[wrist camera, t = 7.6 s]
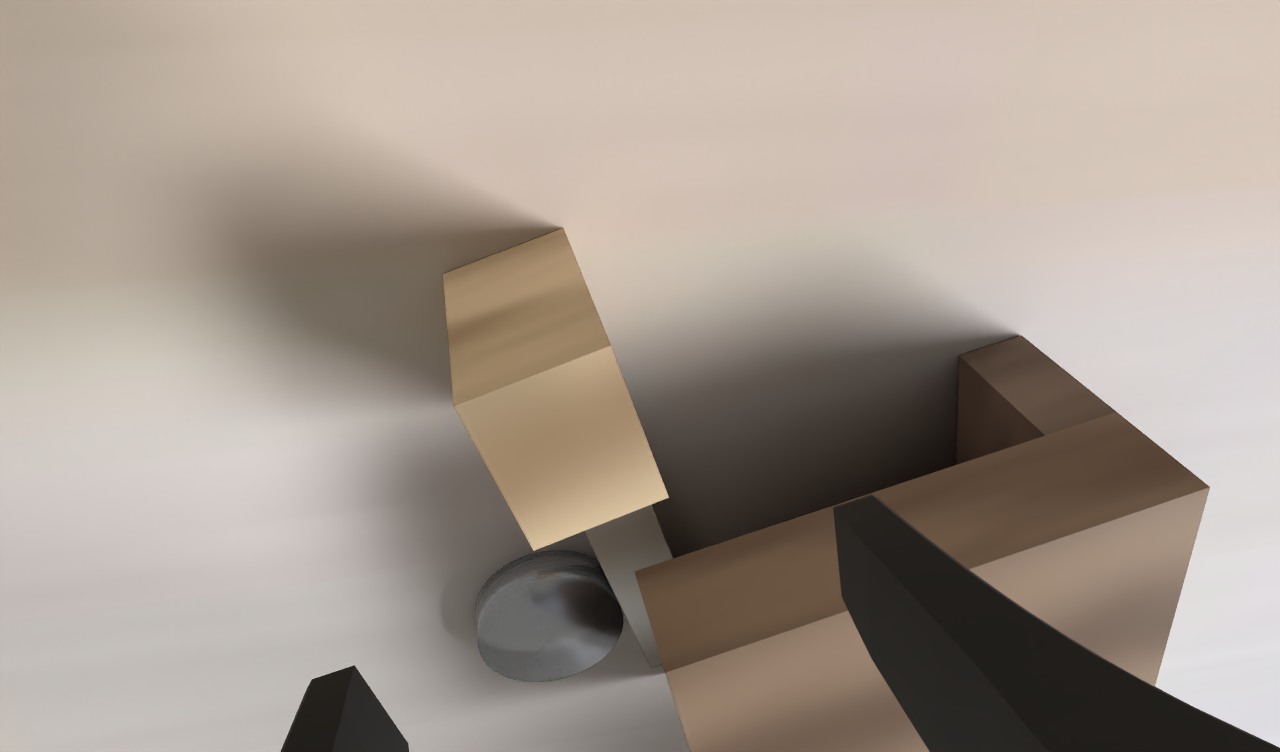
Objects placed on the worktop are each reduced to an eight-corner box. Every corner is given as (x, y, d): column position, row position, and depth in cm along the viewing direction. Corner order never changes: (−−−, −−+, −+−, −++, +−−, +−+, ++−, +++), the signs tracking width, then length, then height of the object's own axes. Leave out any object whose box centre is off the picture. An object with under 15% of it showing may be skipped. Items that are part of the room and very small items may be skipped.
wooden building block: (711, 611, 28) (768, 759, 23) (628, 644, 28) (671, 799, 23) (563, 227, 19) (610, 345, 15) (442, 273, 19) (453, 406, 15)
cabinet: (1003, 559, 30) (1143, 727, 24) (667, 673, 29) (730, 877, 23) (1021, 335, 24) (1209, 487, 18) (602, 469, 23) (665, 672, 18)
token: (630, 612, 27) (640, 648, 26) (506, 661, 27) (511, 699, 26) (588, 524, 25) (597, 560, 23) (451, 578, 25) (453, 616, 23)
